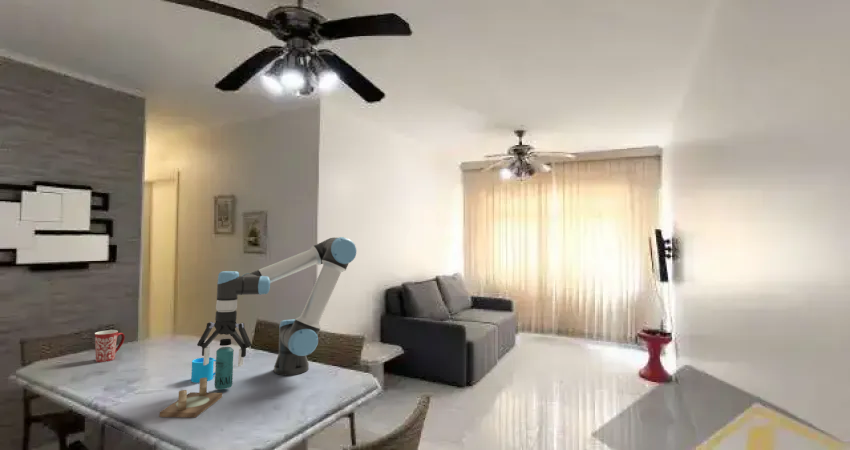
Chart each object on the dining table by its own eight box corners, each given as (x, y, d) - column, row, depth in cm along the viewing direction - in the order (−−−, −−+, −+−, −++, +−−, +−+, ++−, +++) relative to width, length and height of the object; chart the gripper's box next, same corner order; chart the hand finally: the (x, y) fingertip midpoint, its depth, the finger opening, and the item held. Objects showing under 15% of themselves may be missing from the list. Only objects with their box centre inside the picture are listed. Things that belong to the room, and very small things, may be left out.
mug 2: (196, 384, 168) (197, 363, 168) (187, 380, 172) (188, 360, 173) (225, 376, 177) (226, 357, 178) (215, 373, 182) (216, 354, 183)
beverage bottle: (218, 387, 164) (220, 337, 165) (235, 387, 164) (237, 337, 165) (210, 393, 157) (213, 341, 158) (228, 393, 158) (230, 341, 159)
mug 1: (99, 363, 192) (101, 334, 193) (89, 361, 196) (90, 332, 197) (128, 357, 204) (130, 329, 204) (118, 354, 208) (119, 328, 208)
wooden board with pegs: (222, 397, 154) (223, 376, 154) (195, 417, 136) (196, 394, 136) (190, 396, 154) (191, 376, 154) (159, 416, 136) (160, 393, 136)
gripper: (261, 309, 166) (258, 363, 165) (200, 308, 166) (196, 361, 165) (253, 312, 159) (250, 368, 157) (189, 310, 159) (186, 366, 157)
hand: (223, 364), depth 161 cm, fingers open, 13 cm apart
